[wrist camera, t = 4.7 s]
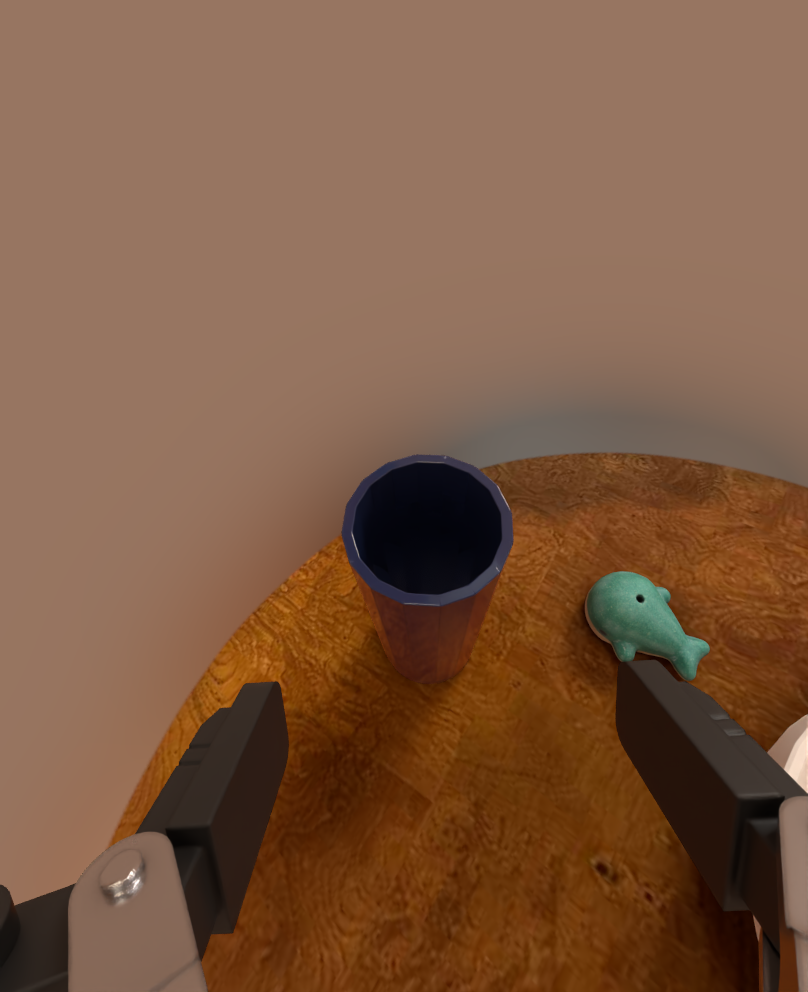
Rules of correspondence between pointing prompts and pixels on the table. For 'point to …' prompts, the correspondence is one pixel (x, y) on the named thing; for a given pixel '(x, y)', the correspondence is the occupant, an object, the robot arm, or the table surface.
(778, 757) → the bowl
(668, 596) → the whale figurine
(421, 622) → the cup
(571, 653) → the table surface
